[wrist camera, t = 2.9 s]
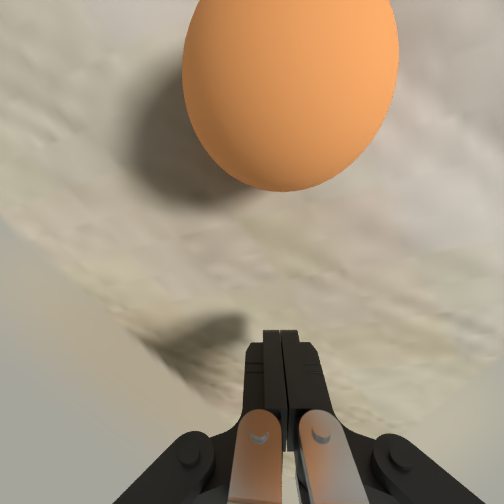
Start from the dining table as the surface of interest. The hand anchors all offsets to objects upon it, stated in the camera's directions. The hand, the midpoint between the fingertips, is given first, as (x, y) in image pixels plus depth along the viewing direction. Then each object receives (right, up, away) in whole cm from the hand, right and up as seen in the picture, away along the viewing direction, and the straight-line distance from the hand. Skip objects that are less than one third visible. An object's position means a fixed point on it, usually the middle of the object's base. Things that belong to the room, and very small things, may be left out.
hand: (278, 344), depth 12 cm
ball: (0, +9, -4) cm, 10 cm away
